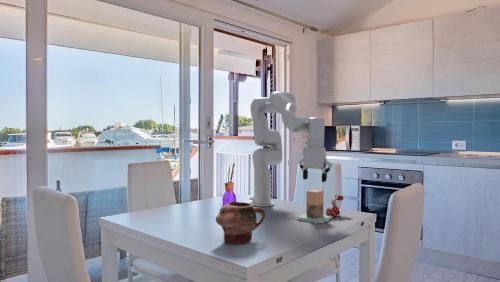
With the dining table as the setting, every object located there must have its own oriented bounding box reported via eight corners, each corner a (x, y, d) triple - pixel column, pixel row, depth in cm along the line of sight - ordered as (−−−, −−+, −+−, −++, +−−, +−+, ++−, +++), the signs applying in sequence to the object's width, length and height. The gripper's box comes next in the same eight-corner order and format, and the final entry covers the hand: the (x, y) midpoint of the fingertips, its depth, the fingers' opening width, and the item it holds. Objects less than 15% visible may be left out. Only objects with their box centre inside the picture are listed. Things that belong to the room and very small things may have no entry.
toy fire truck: (325, 218, 178) (325, 198, 178) (337, 213, 189) (337, 194, 188) (331, 219, 176) (331, 198, 176) (343, 214, 187) (343, 195, 186)
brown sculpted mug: (255, 233, 150) (255, 198, 150) (272, 240, 140) (272, 203, 139) (210, 240, 140) (210, 203, 139) (224, 248, 129) (225, 209, 129)
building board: (297, 220, 173) (297, 216, 173) (309, 215, 183) (310, 212, 183) (320, 224, 166) (320, 220, 166) (332, 219, 175) (332, 216, 175)
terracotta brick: (306, 204, 173) (306, 191, 173) (313, 202, 178) (313, 189, 178) (316, 205, 170) (316, 192, 170) (323, 203, 175) (323, 190, 175)
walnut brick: (306, 216, 173) (306, 204, 173) (313, 214, 179) (313, 202, 178) (316, 218, 170) (316, 205, 170) (323, 215, 175) (323, 203, 175)
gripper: (295, 143, 176) (294, 179, 177) (329, 145, 165) (327, 183, 166) (303, 142, 182) (302, 177, 183) (336, 144, 171) (335, 181, 172)
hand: (314, 180), depth 174 cm, fingers open, 9 cm apart
